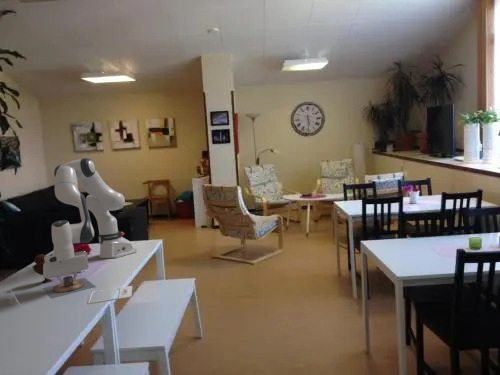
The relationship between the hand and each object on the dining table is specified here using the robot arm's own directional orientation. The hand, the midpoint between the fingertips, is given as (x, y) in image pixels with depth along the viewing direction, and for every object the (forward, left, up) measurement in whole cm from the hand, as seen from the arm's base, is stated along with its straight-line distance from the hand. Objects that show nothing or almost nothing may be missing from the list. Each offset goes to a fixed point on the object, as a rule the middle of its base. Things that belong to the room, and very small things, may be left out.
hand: (68, 282), depth 210 cm
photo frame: (-12, +26, -4) cm, 29 cm away
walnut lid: (0, 0, -2) cm, 2 cm away
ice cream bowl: (+6, -20, -3) cm, 21 cm away
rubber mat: (0, 0, -3) cm, 3 cm away
